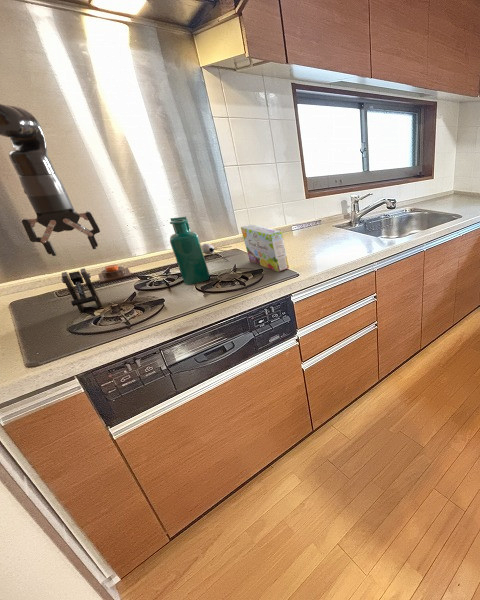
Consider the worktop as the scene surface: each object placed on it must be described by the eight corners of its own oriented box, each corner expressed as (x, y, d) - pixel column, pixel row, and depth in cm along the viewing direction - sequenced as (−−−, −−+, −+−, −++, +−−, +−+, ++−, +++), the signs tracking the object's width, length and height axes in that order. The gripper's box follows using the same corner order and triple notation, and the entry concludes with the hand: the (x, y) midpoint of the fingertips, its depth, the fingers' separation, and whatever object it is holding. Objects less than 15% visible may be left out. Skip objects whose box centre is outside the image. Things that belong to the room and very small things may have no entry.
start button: (119, 270, 120) (117, 266, 119) (107, 273, 117) (105, 268, 117) (118, 268, 122) (116, 263, 121) (106, 270, 120) (104, 266, 119)
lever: (98, 302, 91) (94, 296, 89) (74, 308, 88) (70, 302, 86) (88, 275, 96) (85, 269, 94) (65, 280, 93) (61, 274, 91)
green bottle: (211, 280, 118) (193, 220, 109) (184, 285, 114) (163, 223, 105) (209, 272, 126) (191, 215, 116) (184, 277, 122) (163, 218, 112)
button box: (133, 280, 120) (129, 270, 119) (102, 287, 115) (97, 276, 113) (129, 272, 128) (125, 263, 126) (100, 279, 122) (95, 269, 120)
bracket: (113, 312, 97) (95, 272, 92) (73, 322, 92) (51, 281, 86) (110, 301, 104) (93, 264, 98) (73, 311, 99) (52, 272, 93)
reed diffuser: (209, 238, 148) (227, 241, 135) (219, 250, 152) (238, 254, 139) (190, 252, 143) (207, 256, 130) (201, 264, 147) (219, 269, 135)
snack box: (248, 262, 136) (239, 226, 129) (260, 258, 140) (252, 223, 133) (277, 272, 124) (269, 233, 117) (290, 268, 128) (283, 230, 121)
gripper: (82, 188, 92) (106, 244, 99) (9, 194, 84) (41, 254, 91) (82, 191, 87) (107, 249, 94) (4, 197, 78) (38, 260, 86)
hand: (75, 251), depth 92 cm, fingers open, 8 cm apart
